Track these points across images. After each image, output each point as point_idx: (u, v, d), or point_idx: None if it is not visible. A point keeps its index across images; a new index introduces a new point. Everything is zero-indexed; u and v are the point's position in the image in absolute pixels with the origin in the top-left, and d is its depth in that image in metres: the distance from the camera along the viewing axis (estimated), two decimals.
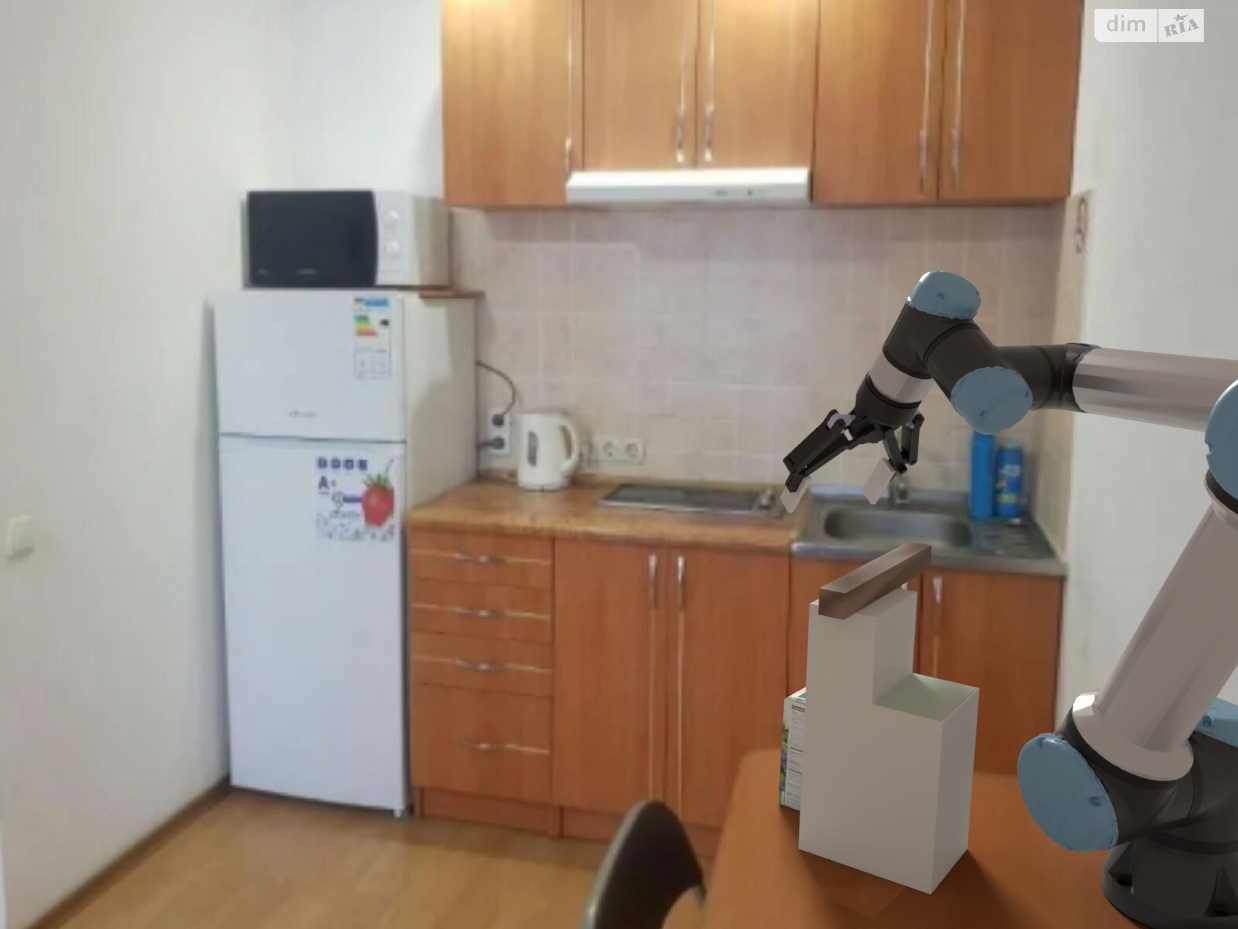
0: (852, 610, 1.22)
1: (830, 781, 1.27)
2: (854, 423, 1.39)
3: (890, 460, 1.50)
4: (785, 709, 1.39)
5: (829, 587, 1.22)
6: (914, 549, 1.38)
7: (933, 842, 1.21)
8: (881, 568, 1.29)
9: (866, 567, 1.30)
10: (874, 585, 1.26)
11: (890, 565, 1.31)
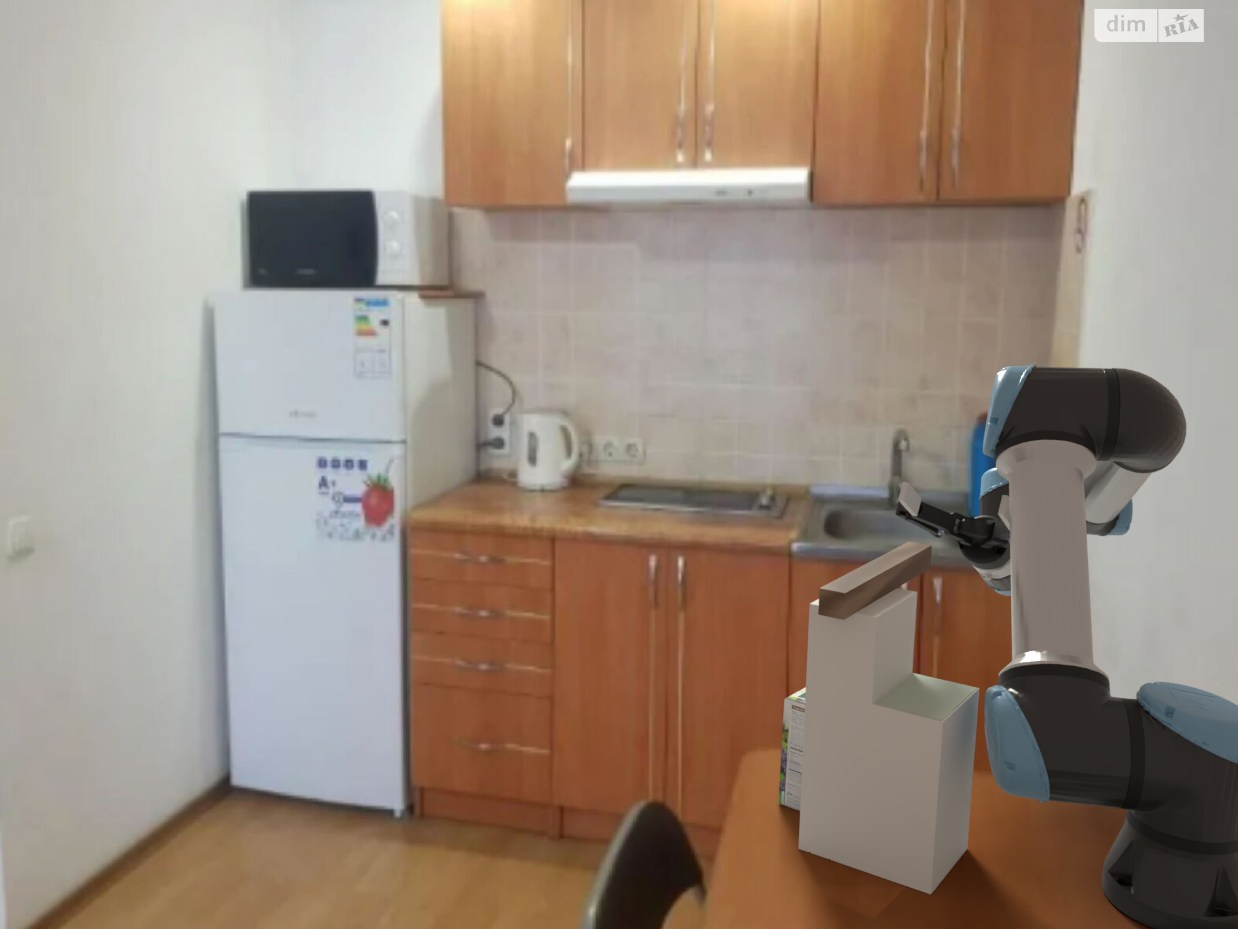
0: (852, 610, 1.22)
1: (830, 781, 1.27)
2: None
3: None
4: (785, 709, 1.39)
5: (829, 587, 1.22)
6: (914, 549, 1.38)
7: (933, 842, 1.21)
8: (881, 568, 1.29)
9: (866, 567, 1.30)
10: (874, 585, 1.26)
11: (890, 565, 1.31)
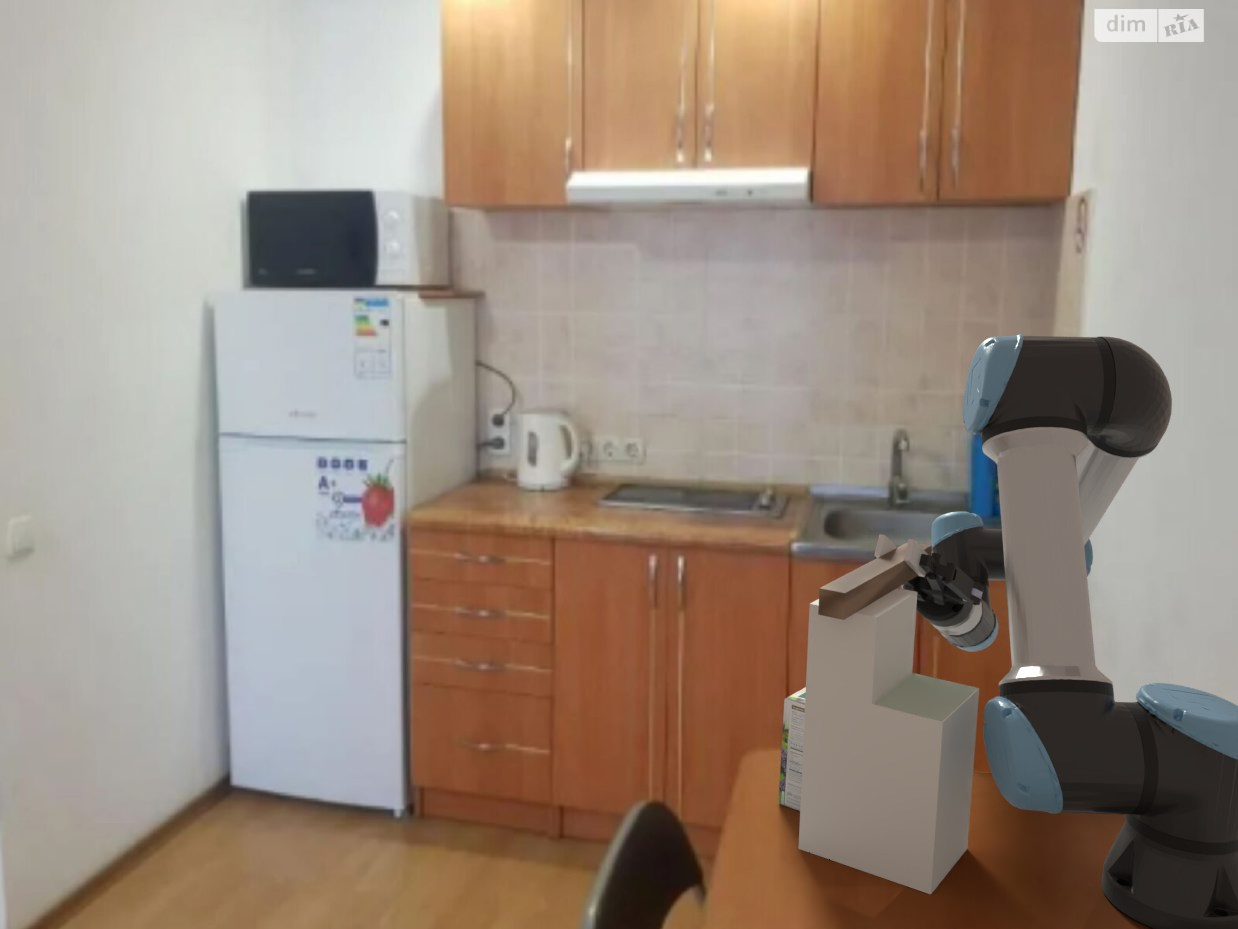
0: (852, 610, 1.22)
1: (830, 781, 1.27)
2: None
3: None
4: (785, 709, 1.39)
5: (829, 587, 1.22)
6: None
7: (933, 842, 1.21)
8: (881, 568, 1.29)
9: (866, 567, 1.30)
10: (874, 585, 1.26)
11: (890, 565, 1.31)
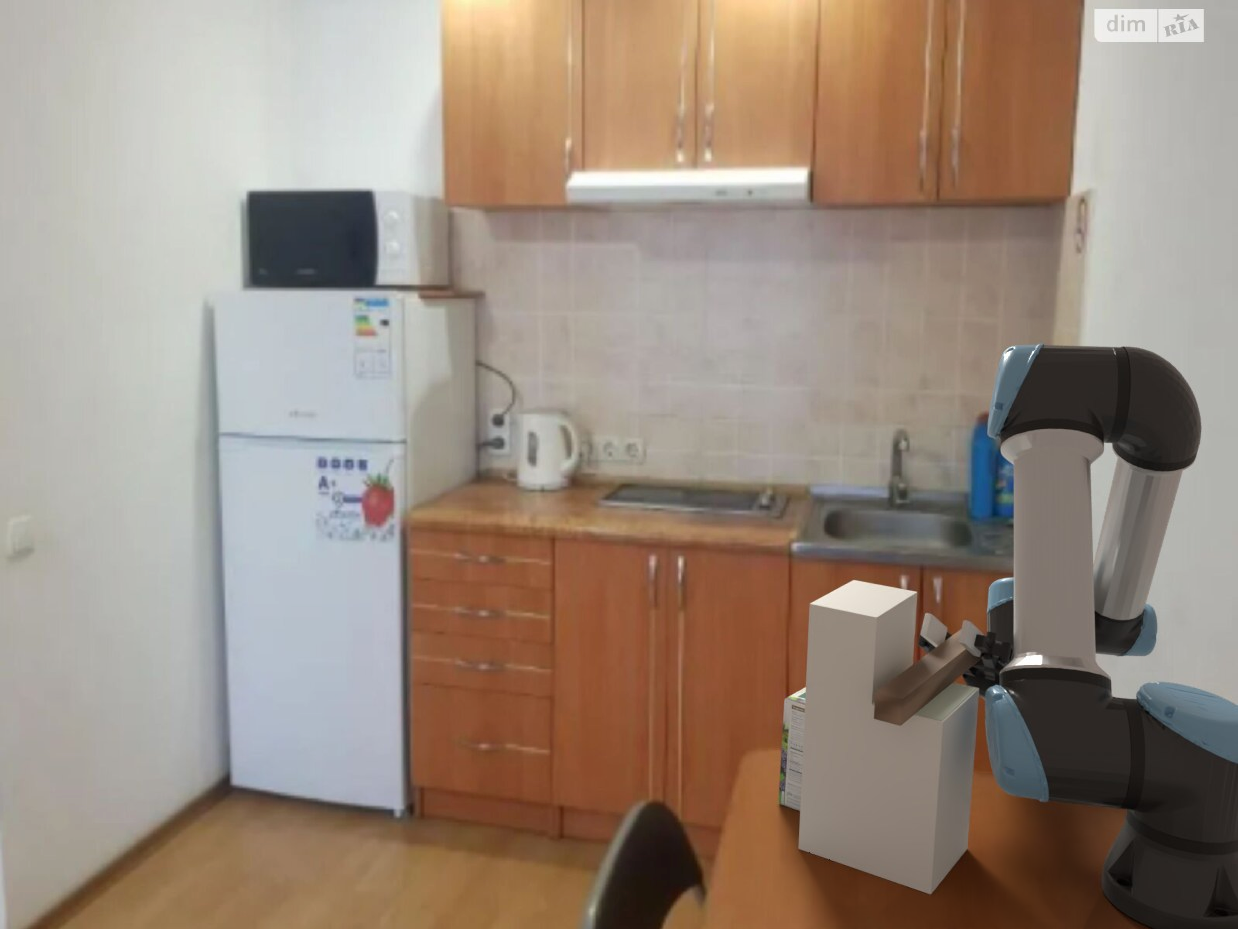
0: (908, 714, 1.19)
1: (830, 781, 1.27)
2: None
3: None
4: (785, 709, 1.39)
5: (885, 691, 1.19)
6: None
7: (933, 842, 1.21)
8: (936, 665, 1.26)
9: (920, 664, 1.27)
10: (930, 686, 1.23)
11: (945, 661, 1.28)
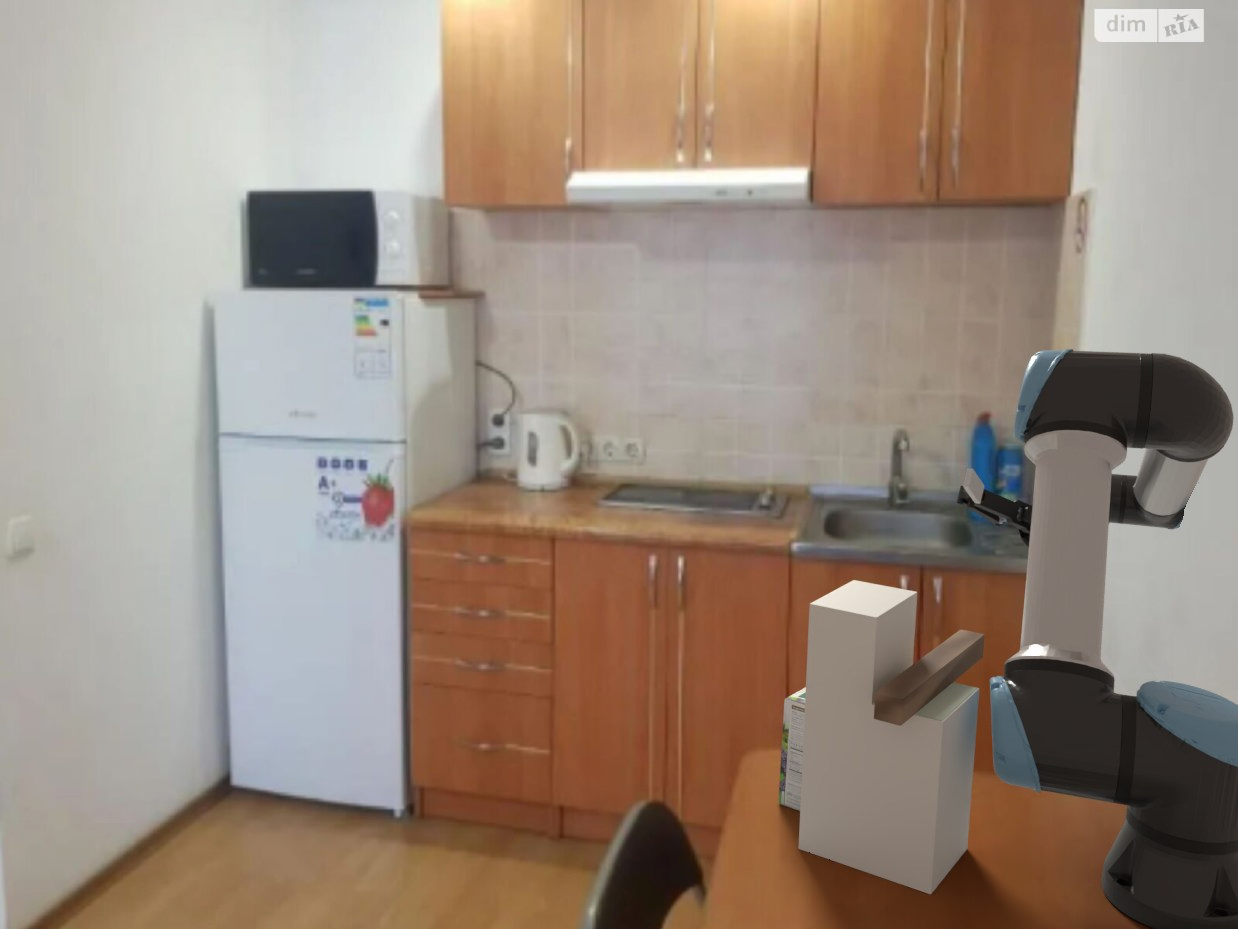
0: (908, 714, 1.19)
1: (830, 781, 1.27)
2: None
3: None
4: (785, 709, 1.39)
5: (885, 691, 1.19)
6: (967, 640, 1.35)
7: (933, 842, 1.21)
8: (936, 665, 1.26)
9: (920, 664, 1.27)
10: (930, 686, 1.23)
11: (945, 661, 1.28)
